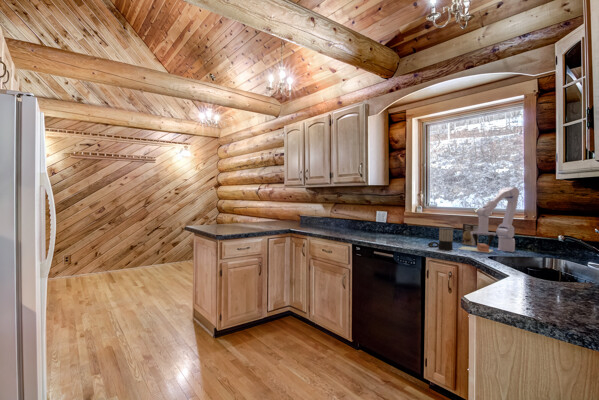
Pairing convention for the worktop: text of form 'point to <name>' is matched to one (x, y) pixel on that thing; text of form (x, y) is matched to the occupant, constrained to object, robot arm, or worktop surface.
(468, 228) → the coffee box
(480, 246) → the block
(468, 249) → the mat
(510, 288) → the worktop surface
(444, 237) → the milk frother
